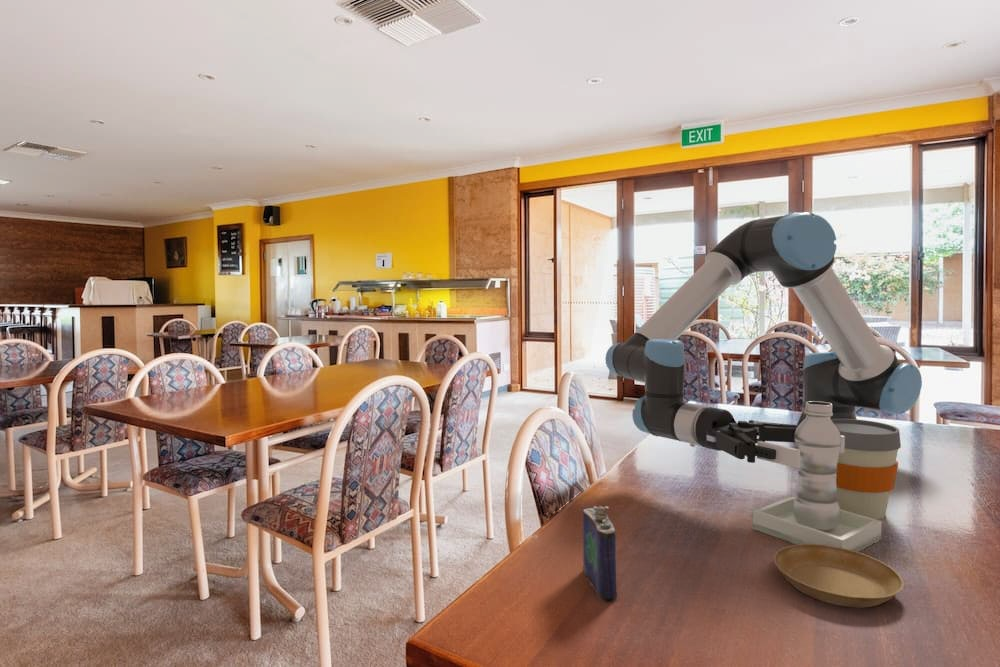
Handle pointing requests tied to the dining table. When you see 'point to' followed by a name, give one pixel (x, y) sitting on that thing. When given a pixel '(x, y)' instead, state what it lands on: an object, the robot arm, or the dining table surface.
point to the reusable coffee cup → (866, 466)
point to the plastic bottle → (817, 468)
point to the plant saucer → (838, 575)
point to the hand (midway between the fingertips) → (822, 451)
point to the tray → (848, 534)
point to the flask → (600, 552)
